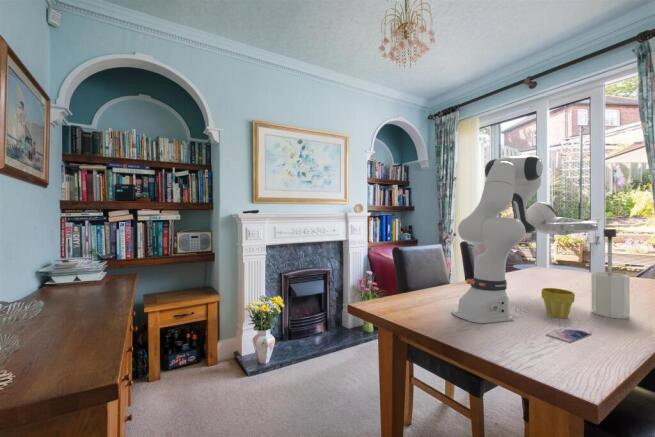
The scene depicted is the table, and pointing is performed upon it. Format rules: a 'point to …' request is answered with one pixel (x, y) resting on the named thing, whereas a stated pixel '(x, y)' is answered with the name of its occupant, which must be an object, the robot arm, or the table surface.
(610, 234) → the plunger
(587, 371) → the table surface
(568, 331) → the smartphone
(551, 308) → the plant pot
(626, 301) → the press carafe
